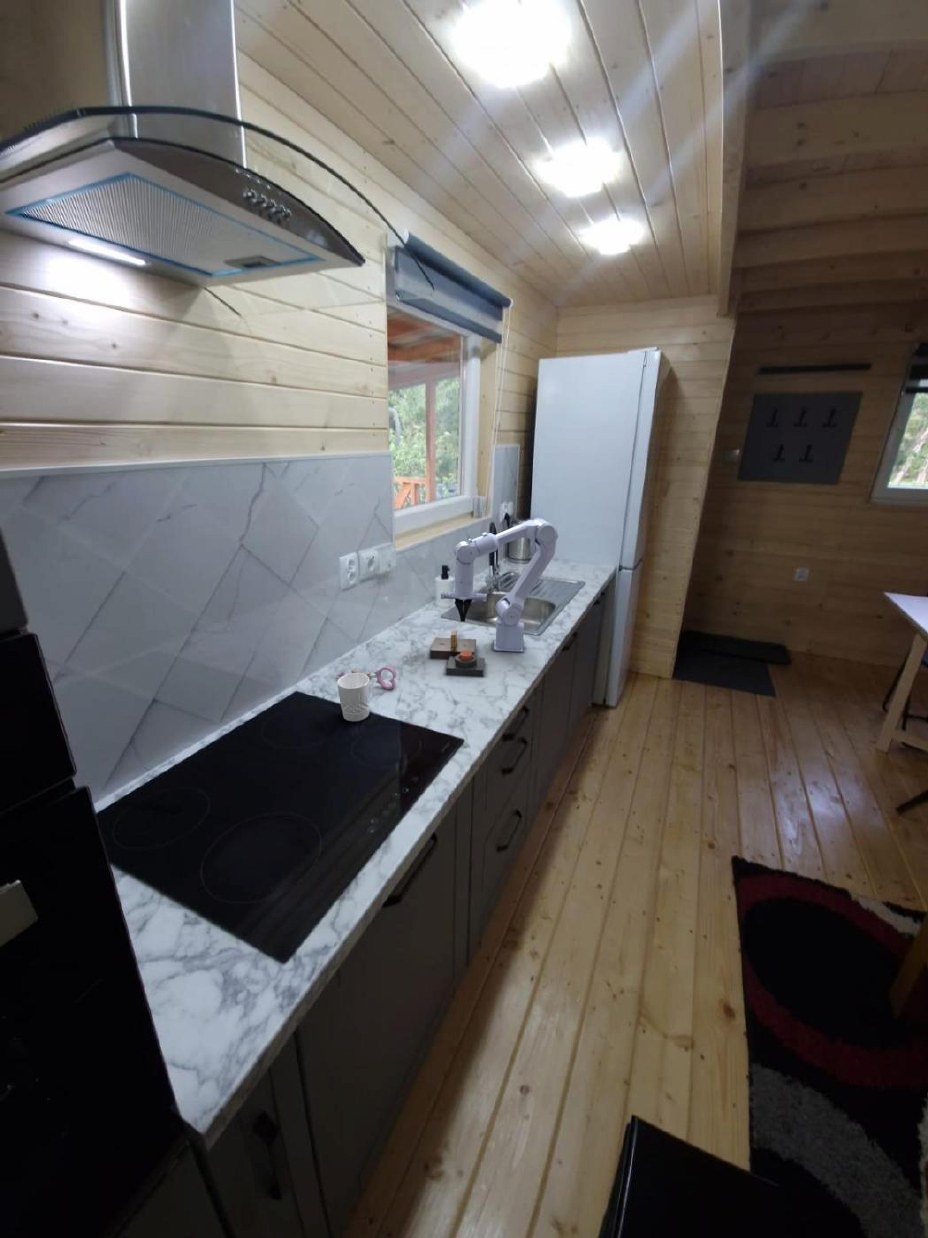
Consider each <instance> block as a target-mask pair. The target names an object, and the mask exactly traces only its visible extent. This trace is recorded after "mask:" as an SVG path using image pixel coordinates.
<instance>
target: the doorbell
mask: <svg viewBox="0 0 928 1238" xmlns="http://www.w3.org/2000/svg"><path fill="white" fill-rule="evenodd" d="M485 662H486V661H485V657H478V656H476V654H475V655H474V654H472V660H469V661H463V660H461V659H460V654H458V655H457V656H456V657H453V656H450V657H449V659H448V662H447V664H446V675H448V676H449V675H450V676H464V677H465V676H467V677H484V671H485V665H486V663H485Z"/></svg>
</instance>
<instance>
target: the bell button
mask: <svg viewBox="0 0 928 1238" xmlns="http://www.w3.org/2000/svg"><path fill="white" fill-rule="evenodd" d="M460 659H461V660H463V661H469V660H472V653H471V652H469V651H463V652H461V653H460Z"/></svg>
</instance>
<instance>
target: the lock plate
mask: <svg viewBox="0 0 928 1238" xmlns="http://www.w3.org/2000/svg"><path fill="white" fill-rule="evenodd" d="M476 650H477V639H475V638H458V637H457V643H456V647H451V637H438V636H436V637H435V636H434V638H433V641H432V644H431V647H430V650H429V659H434V660H435V659H436V660H449V657H450V656H453V657H456V656H457V655H458V654H460V653H461V652H463V651H469V652H471V653H472V654H474V655H475V656H476Z"/></svg>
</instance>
